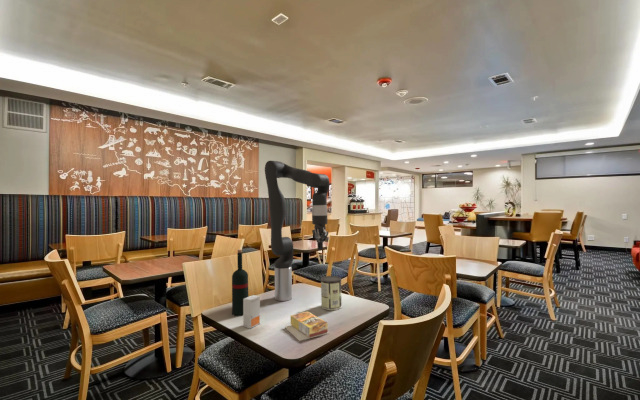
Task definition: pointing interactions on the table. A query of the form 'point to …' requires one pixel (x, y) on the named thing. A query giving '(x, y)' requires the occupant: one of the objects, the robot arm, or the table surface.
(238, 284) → the wine bottle
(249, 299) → the skincare box
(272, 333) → the table surface
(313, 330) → the candy box
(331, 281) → the coffee can
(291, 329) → the mat
